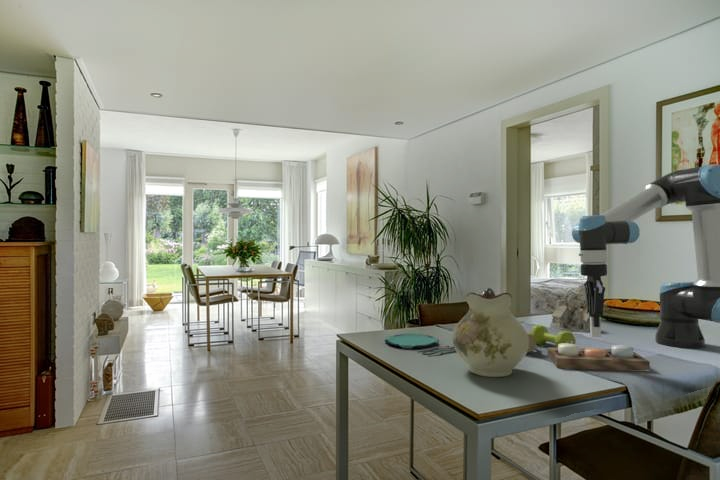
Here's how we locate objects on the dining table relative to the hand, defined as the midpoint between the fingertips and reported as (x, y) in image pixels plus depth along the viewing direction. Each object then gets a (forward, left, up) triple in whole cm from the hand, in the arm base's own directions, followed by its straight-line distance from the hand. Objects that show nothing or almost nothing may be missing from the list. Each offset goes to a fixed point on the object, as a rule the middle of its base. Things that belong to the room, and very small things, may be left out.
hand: (595, 336), depth 142 cm
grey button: (-8, 0, -7) cm, 10 cm away
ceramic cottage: (-7, -57, -9) cm, 58 cm away
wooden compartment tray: (0, 0, -9) cm, 9 cm away
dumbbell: (+9, -20, -9) cm, 24 cm away
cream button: (+8, 0, -7) cm, 11 cm away
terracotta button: (0, 0, -8) cm, 8 cm away
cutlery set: (+58, -16, -9) cm, 61 cm away
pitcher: (+34, +13, -9) cm, 38 cm away
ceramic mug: (+20, -14, -9) cm, 26 cm away
